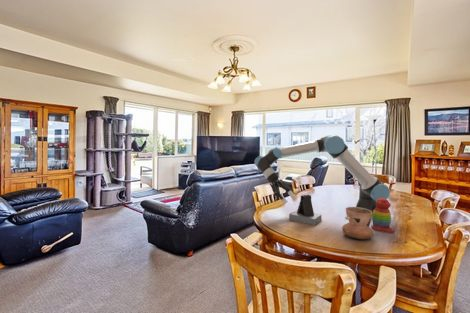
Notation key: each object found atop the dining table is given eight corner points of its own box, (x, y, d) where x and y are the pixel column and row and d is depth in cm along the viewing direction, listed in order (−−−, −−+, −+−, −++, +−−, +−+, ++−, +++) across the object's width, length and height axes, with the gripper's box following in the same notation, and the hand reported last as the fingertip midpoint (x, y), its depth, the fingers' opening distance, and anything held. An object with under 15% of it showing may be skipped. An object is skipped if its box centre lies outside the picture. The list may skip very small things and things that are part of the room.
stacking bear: (395, 233, 138) (397, 201, 136) (374, 231, 140) (376, 200, 138) (387, 226, 148) (389, 196, 147) (368, 225, 150) (370, 195, 149)
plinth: (321, 220, 159) (321, 214, 158) (314, 225, 149) (314, 219, 149) (297, 214, 168) (297, 209, 168) (289, 219, 159) (289, 213, 159)
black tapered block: (314, 215, 156) (314, 196, 155) (306, 216, 153) (307, 197, 152) (304, 211, 164) (304, 193, 163) (296, 212, 161) (297, 194, 160)
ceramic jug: (356, 244, 123) (358, 215, 122) (334, 233, 136) (335, 207, 135) (382, 239, 130) (384, 212, 129) (358, 229, 143) (360, 204, 142)
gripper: (276, 177, 184) (295, 200, 176) (257, 181, 164) (277, 208, 156) (283, 170, 180) (302, 194, 172) (264, 174, 160) (286, 201, 152)
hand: (290, 201), depth 164 cm, fingers open, 13 cm apart
